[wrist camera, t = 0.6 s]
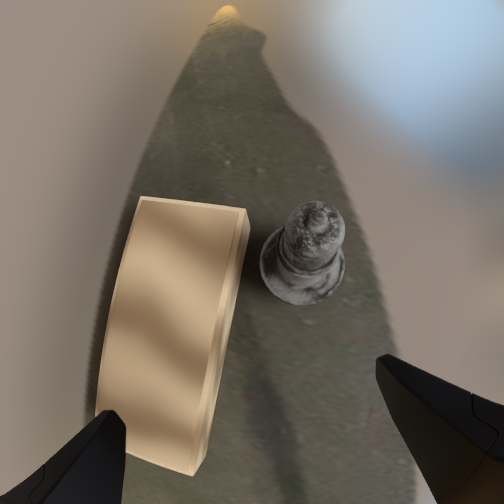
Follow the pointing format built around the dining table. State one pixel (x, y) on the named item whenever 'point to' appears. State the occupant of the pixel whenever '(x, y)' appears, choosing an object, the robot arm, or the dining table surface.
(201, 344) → the tan wooden block
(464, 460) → the robot arm
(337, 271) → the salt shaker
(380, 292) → the dining table surface
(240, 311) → the dining table surface
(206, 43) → the dining table surface
